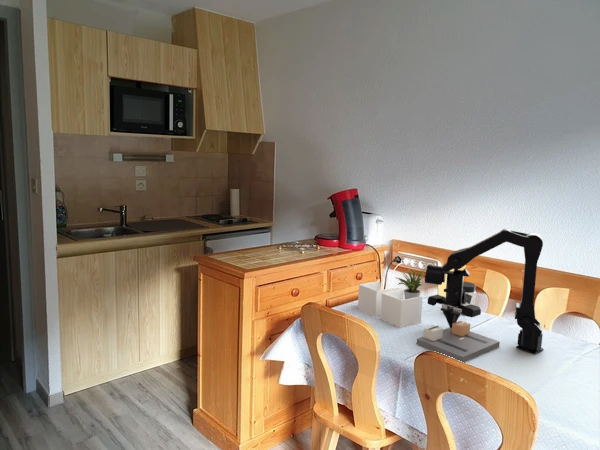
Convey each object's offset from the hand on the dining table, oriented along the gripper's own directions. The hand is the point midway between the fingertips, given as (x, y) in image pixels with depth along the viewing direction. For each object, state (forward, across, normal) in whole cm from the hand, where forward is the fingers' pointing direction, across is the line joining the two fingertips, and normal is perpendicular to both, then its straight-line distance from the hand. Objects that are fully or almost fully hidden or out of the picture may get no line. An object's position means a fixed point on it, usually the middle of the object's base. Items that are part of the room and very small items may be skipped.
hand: (451, 328), depth 169 cm
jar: (+3, +13, -28) cm, 31 cm away
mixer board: (+3, -7, +6) cm, 10 cm away
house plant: (+3, +32, -18) cm, 37 cm away
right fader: (+1, -4, 0) cm, 4 cm away
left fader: (+1, -1, +12) cm, 12 cm away
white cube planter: (+3, +28, +3) cm, 28 cm away
